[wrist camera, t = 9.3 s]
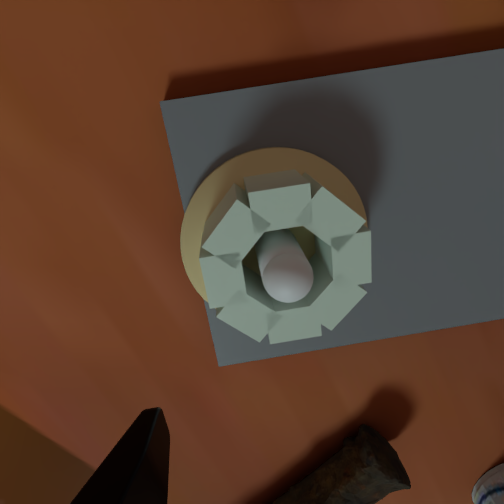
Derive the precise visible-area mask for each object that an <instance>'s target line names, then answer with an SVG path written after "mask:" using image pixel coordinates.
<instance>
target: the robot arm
mask: <svg viewBox="0 0 504 504" xmlns="http://www.w3.org/2000/svg"><path fill="white" fill-rule="evenodd" d="M169 452H170V434H169V430H168V426H167V423H166V420H165V417H164V414H163V411H162V409H161V408H160V407H155V408H150V409H145V410H143V411H142V412H141V413H140V415H139V416H138V417H137V418H136V420H135V421H134V422H133V424H132V425H131V426H130V427H129V429H128V430H127V431H126V432H125V434H124V435H123V436H122V438H121V439H120V440H119V441H118V443H117V444H116V445H115V447H114V448H113V449H112V450H111V452H110V453H109V454H108V456H107V457H106V458H105V459H104V461H103V462H102V463H101V465H100V466H99V467H98V468H97V470H96V471H95V472H94V474H93V475H92V476H91V477H90V479H89V480H88V481H87V482H86V484H85V485H84V486H83V488H82V489H81V490H80V491H79V493H78V494H77V495H76V497H75V498H74V499H73V500H72V502H71V503H70V504H167V497H168V474H169Z"/></svg>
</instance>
